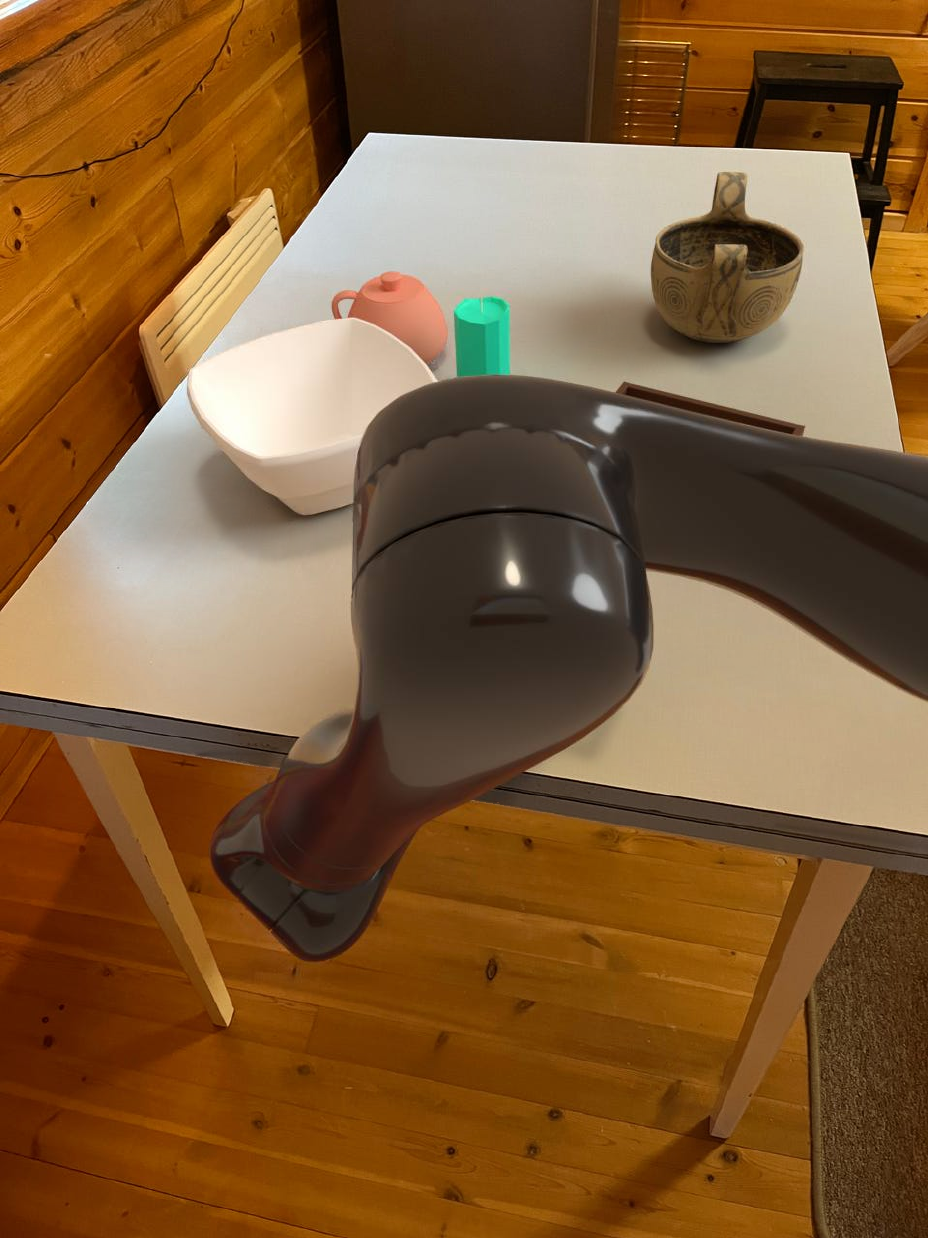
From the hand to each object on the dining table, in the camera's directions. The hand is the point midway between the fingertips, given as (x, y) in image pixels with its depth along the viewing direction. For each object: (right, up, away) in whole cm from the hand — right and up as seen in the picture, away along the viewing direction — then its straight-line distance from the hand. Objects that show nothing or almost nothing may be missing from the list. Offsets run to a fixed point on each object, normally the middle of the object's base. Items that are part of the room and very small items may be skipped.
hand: (601, 559), depth 72 cm
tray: (+11, +10, +22) cm, 27 cm away
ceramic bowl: (+20, +31, +42) cm, 56 cm away
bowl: (-25, +10, +24) cm, 35 cm away
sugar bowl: (-19, +27, +41) cm, 53 cm away
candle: (-8, +21, +34) cm, 41 cm away
